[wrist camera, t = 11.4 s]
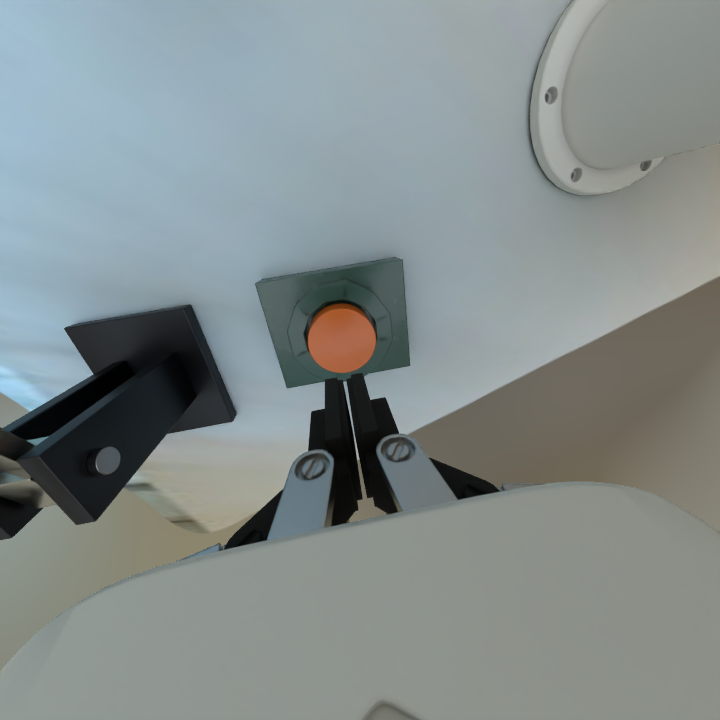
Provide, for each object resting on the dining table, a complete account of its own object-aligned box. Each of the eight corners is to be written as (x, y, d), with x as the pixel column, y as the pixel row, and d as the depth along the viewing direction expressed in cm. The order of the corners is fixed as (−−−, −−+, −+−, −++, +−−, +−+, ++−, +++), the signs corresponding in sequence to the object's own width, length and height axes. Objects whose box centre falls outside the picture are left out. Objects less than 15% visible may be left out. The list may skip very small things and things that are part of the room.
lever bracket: (76, 323, 21) (-222, 425, 10) (190, 304, 22) (36, 380, 10) (143, 431, 26) (-3, 587, 14) (237, 414, 26) (167, 552, 15)
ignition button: (368, 297, 19) (371, 303, 18) (375, 357, 22) (379, 366, 20) (302, 309, 19) (300, 315, 18) (316, 368, 21) (315, 378, 20)
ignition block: (395, 257, 22) (409, 261, 18) (403, 356, 26) (416, 375, 22) (261, 279, 22) (248, 287, 18) (289, 376, 25) (283, 399, 22)
